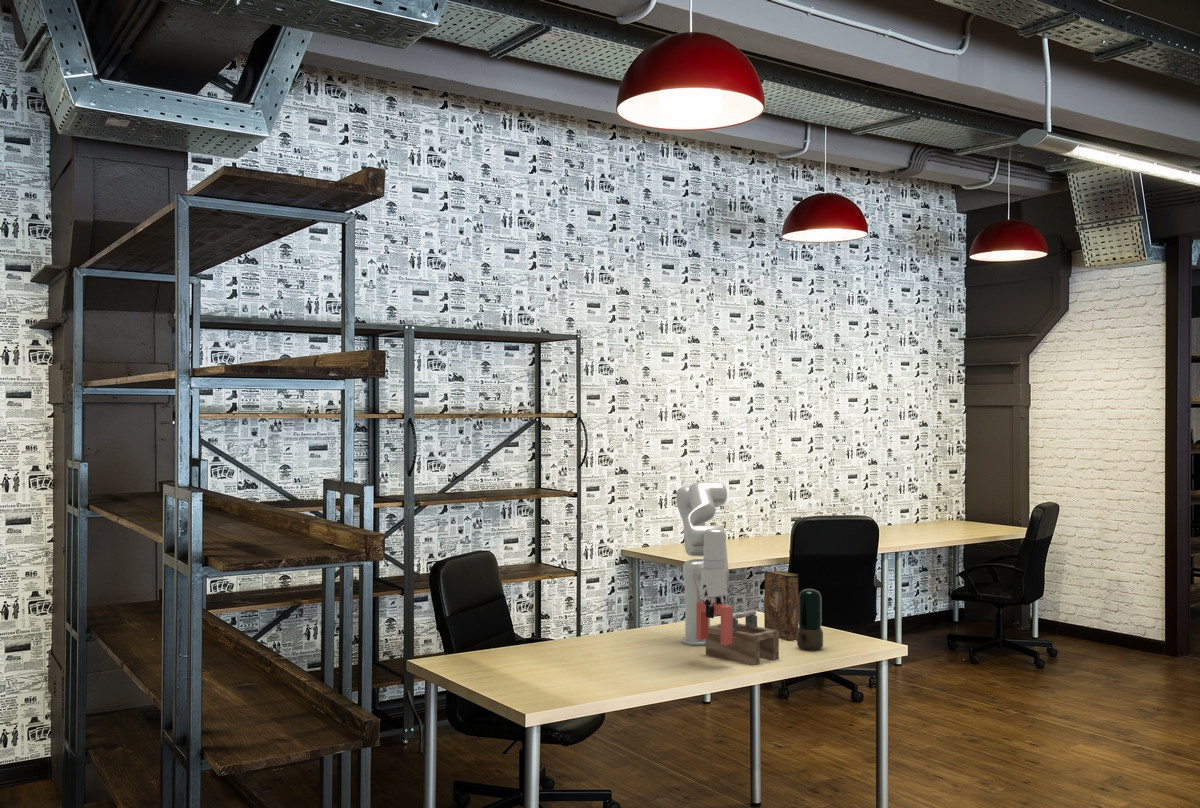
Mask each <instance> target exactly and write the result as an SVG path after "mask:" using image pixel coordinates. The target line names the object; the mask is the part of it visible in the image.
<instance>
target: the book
mask: <svg viewBox="0 0 1200 808" xmlns="http://www.w3.org/2000/svg"><path fill="white" fill-rule="evenodd" d="M763 575H764V577H763V578H764V582H763V583H764V584H763V586H764V589H763V591H764V600H763V601H764V603H763V604H764V607H763V608H764V610H763V611H764V615H763V617H764V620H763V621H764V625H763V626H764V627H763V628H767V629H773V630H779V639H781V640H784V641H788V642H794V640H796V641H797V630H798V628H799V622H798V595H799V574H796V573H791V572H787V571H782V570H778V569H776V570H772V571H769V570H764V574H763Z"/></svg>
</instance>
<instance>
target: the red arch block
mask: <svg viewBox="0 0 1200 808" xmlns="http://www.w3.org/2000/svg"><path fill="white" fill-rule="evenodd" d="M712 607H714V616H717V615H720V616H719V617H720V624H721V645H724V646H726V645H730V644H733V614H734V613H733V610H734V609H733V605H728V604H725V603H724V604H718V603H716V602H713V606H712ZM707 638H708V617H706V606H705V604H704V602H703V601H700V602H696V639H698V640H703V639H707Z"/></svg>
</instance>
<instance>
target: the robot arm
mask: <svg viewBox="0 0 1200 808" xmlns="http://www.w3.org/2000/svg"><path fill="white" fill-rule="evenodd" d="M675 495H676V497H675V498H676V505H677V509H678V513H679V514H680V516H681V519H682V525H683V539H684V549H685V553H686V554H687V555H688V556H690V557H697V558H693V559H689V560H688V559H687V560H686V561H685V562H684V563H683V565H682V577H683V582H684V599H685V600H684V603H685V604H684V610H685V611H684V612H685V613H684V614H685V615H684V618H685V619H684V621H685V623H684V625H685V626H684V628H685V629H684V630H685V631H684V633H685V634H684V635H685V636H684V637H682V638H681V639H680V641H681V643H682V644H685V645H689V646H690V645H691V646H706V639H703V640H698V639H696V602H700V601H703V602H704V604H705V606H706V617H708V626H711V619H714V618H715V614H714V607H712V606H713V603H714V599H715V603H718V604H724V605H725V600H726V598H727V597H728V596H729V591H728V580H729V575H730V574H729V573H730V572H729V571H730V570H729V562H728V552H727V551H728V549H727V531H726V530H725V528H724V527H723V526H722V525H706V522H708V521H710V520H712V519H713V518H714V516H715V515H716V511H717V510H716V508H720V507H721V506H723V505H724V504H726V503H727V499H728V491H727V488H726V486H725V484H724V483H722V482H721V481H696V482H694V483H692V484H691V485H686V486H681V487H679V488H678V489H677V491H676V493H675ZM698 557H699V558H698ZM700 557H703V558H700ZM716 616H719V617H721V616H720V615H716Z"/></svg>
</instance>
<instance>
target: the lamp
mask: <svg viewBox="0 0 1200 808" xmlns="http://www.w3.org/2000/svg"><path fill="white" fill-rule="evenodd" d="M822 623H823V622H822V595H821V593H820V591H818V590H816V589H813V588H805V589H803V590H801V591H800V592H798V630H797V640H796V646H797V647H798V648H799V649H800V650H804V651H819V650H822V648H823V647H824V631H823V629H822Z"/></svg>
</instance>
